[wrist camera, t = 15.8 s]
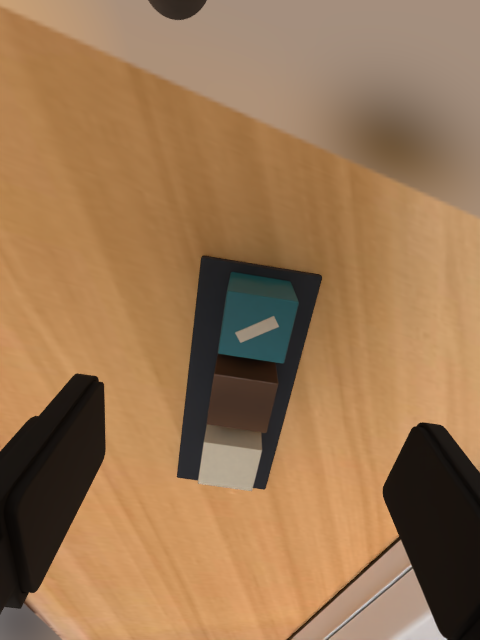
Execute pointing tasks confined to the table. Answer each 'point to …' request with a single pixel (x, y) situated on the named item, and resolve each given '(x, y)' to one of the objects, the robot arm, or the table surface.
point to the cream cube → (230, 457)
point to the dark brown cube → (242, 393)
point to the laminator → (376, 605)
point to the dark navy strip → (206, 351)
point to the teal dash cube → (258, 318)
